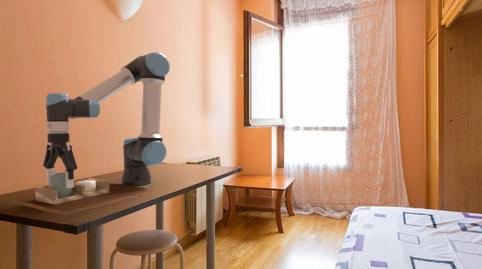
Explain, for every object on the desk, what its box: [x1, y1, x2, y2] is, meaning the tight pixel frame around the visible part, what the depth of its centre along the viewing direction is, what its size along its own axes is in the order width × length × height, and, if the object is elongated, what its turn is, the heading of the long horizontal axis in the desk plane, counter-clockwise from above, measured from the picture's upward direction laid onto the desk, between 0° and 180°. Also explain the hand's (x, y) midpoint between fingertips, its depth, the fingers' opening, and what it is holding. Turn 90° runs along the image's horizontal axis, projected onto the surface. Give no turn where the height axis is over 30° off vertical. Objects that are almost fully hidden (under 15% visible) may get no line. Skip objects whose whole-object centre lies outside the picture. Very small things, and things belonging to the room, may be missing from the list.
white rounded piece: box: [75, 179, 96, 193], centre depth 136 cm, size 8×8×5 cm
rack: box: [34, 177, 110, 205], centre depth 131 cm, size 23×14×6 cm, turn 148°
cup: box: [48, 171, 72, 199], centre depth 126 cm, size 8×8×10 cm
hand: (60, 186), depth 127 cm, fingers open, 13 cm apart
